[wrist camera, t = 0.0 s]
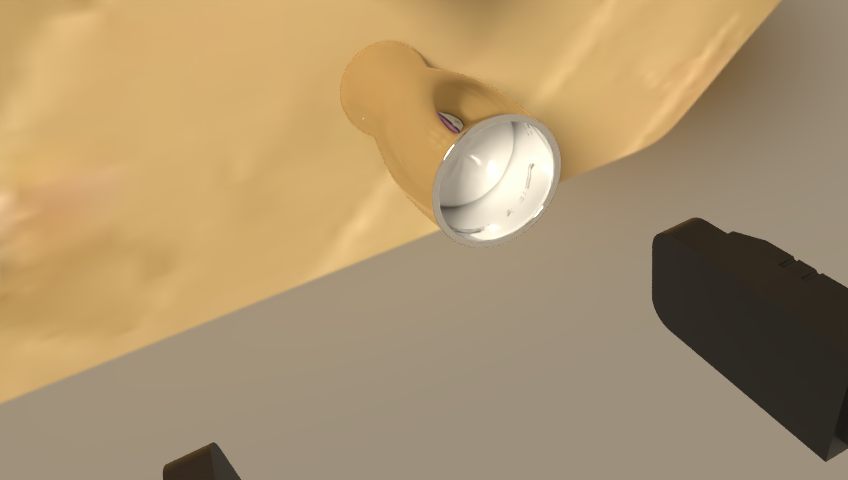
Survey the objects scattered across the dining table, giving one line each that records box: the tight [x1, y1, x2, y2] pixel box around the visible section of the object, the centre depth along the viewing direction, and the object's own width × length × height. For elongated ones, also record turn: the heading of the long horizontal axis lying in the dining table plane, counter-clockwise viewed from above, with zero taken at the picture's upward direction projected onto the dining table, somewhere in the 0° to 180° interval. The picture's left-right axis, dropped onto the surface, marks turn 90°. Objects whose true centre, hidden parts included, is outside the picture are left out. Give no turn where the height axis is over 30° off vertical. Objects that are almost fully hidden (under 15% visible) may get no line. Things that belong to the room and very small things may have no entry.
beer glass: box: [340, 41, 561, 248], centre depth 34 cm, size 7×7×15 cm
